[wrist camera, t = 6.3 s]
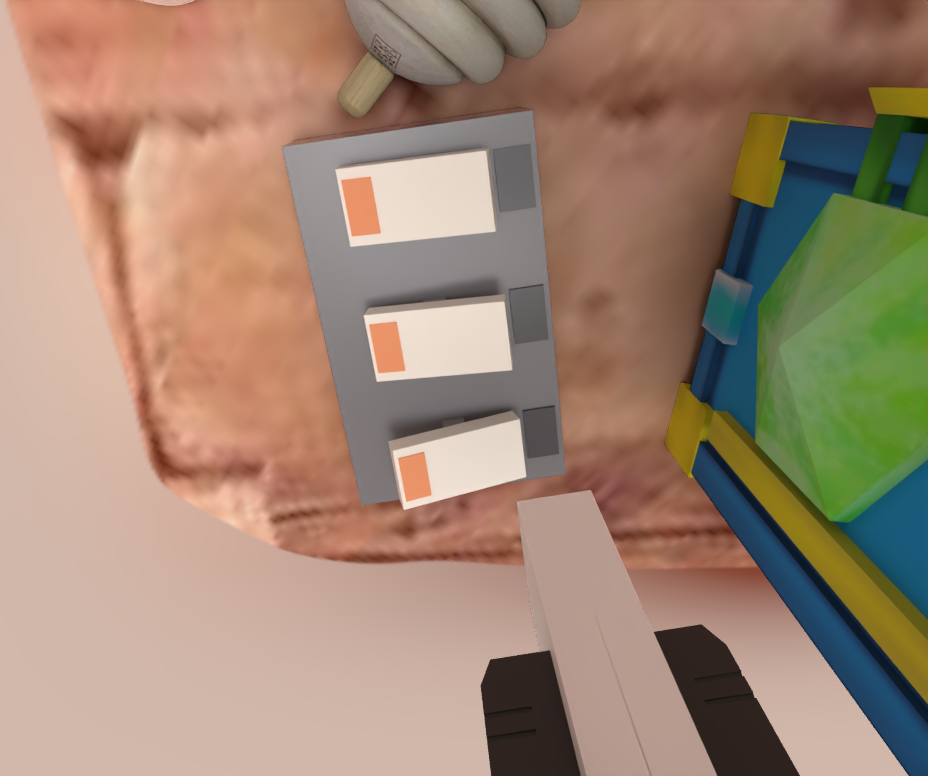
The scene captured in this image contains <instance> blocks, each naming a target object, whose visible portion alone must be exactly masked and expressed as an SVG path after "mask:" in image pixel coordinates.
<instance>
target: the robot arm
mask: <svg viewBox="0 0 928 776" xmlns="http://www.w3.org/2000/svg"><path fill="white" fill-rule="evenodd" d="M517 508H518V516H519V524H520V532H521V540H522V548H523V556H524V564H525V572H526V578H527V587H528V594H529V603H530V610H531V615H532V619H533V623H534V628H535V632H536V637H537V641H538V645H539V649H540V652H536V653H529V654H523V655H517V656H510V657H504V658H498V659H491V660H490V662H489V665H488V667H487V670H486V673H485V676H484V678H483V681H482V684H481V692H482V701H483V709H484V717H485V726H486V735H487V742H488V743H487V744H488V752H489V761H490V769H491V776H800V775H799V773H798V772H797V770H796V768H795V766H794V765H793V763H792V761H791V759H790V757H789V755H788V754H787V752H786V750H785V748H784V747H783V745H782V743H781V741H780V740H779V738H778V736H777V734H776V732H775V731H774V729H773V727H772V725H771V724H770V722H769V720H768V718H767V716H766V715H765V713H764V711H763V709H762V707H761V706H760V704H759V702H758V700H757V699H756V698H754V695H753V691H752V690H751V688H750V686H749V684H748V682H747V681H746V679H745V677H744V676H742V674H741V670H740V669H739V666H738V665H737V663H736V661H735V659H734V658H733V656H732V654H731V652H730V650H729V649H728V647H727V645H726V644H725V643H723V642H722V641H721V640H720V639H719V638H717V637H716V636H715V635H714V634H712V633H711V632H710V631H709V630H707V629H706V628H705V627H704V626H703V625H695V626H689V627H682V628H676V629H669V630H663V631H657V632H653V630H652V628H651V625H650V623H649V621H648V619H647V616H646V614H645V612H644V609H643V607H642V605H641V603H640V600H639V598H638V596H637V594H636V591H635V589H634V587H633V585H632V582H631V580H630V578H629V575H628V573H627V571H626V569H625V566H624V564H623V562H622V560H621V557H620V555H619V553H618V551H617V548H616V546H615V544H614V542H613V539H612V537H611V535H610V533H609V530H608V528H607V526H606V523H605V521H604V519H603V517H602V514H601V512H600V510H599V508H598V505H597V503H596V501H595V499H594V496H593V494H592V492H591V490H587V491H581V492H574V493H568V494H562V495H555V496H549V497H542V498H536V499H529V500H523V501H517Z"/></svg>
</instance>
